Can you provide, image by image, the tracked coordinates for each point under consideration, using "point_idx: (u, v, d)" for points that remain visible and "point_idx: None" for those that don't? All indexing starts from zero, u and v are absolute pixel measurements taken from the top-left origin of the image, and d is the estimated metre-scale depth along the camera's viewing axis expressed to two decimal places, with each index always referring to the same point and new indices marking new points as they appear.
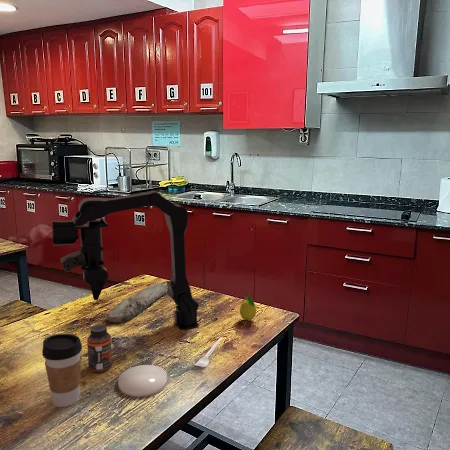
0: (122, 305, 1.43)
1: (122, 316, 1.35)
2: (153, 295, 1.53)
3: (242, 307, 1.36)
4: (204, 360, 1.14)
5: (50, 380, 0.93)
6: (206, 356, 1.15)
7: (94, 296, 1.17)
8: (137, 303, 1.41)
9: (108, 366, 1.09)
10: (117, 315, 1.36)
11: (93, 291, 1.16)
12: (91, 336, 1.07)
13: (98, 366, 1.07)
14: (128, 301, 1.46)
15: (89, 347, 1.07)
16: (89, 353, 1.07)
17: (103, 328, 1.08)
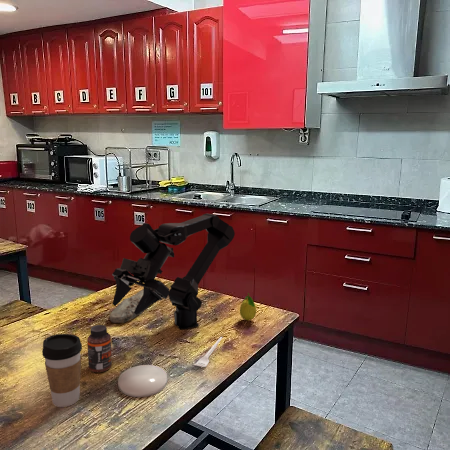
0: (123, 305, 1.43)
1: (124, 316, 1.35)
2: None
3: (242, 307, 1.36)
4: (204, 360, 1.14)
5: (50, 380, 0.93)
6: (206, 356, 1.15)
7: (137, 309, 1.11)
8: None
9: (108, 366, 1.09)
10: (119, 315, 1.35)
11: (142, 304, 1.11)
12: (91, 336, 1.07)
13: (98, 366, 1.07)
14: (129, 301, 1.46)
15: (89, 347, 1.07)
16: (89, 353, 1.07)
17: (103, 328, 1.08)
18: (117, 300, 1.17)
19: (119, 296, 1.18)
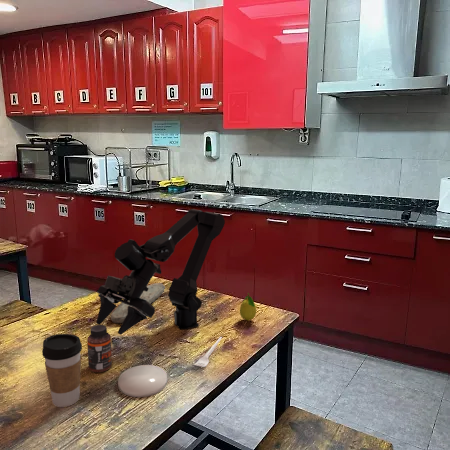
0: (124, 306, 1.43)
1: None
2: (153, 295, 1.53)
3: (242, 307, 1.36)
4: (204, 360, 1.14)
5: (50, 380, 0.93)
6: (206, 356, 1.15)
7: (121, 329, 1.08)
8: None
9: (108, 366, 1.09)
10: (120, 315, 1.35)
11: (126, 323, 1.08)
12: (91, 336, 1.07)
13: (98, 366, 1.07)
14: (129, 301, 1.46)
15: (89, 347, 1.07)
16: (89, 353, 1.07)
17: (103, 328, 1.08)
18: (101, 318, 1.14)
19: (103, 314, 1.14)
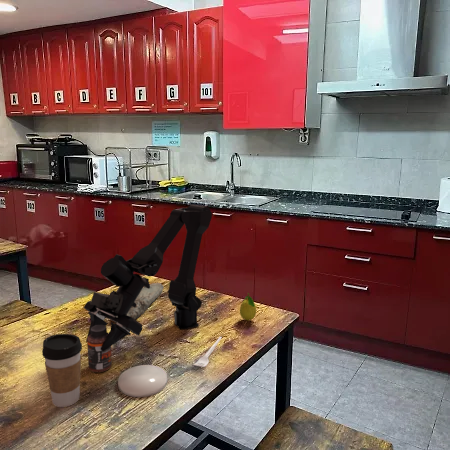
0: None
1: None
2: (153, 295, 1.54)
3: (242, 307, 1.36)
4: (204, 360, 1.14)
5: (50, 380, 0.93)
6: (206, 356, 1.15)
7: (104, 345, 1.06)
8: (141, 303, 1.41)
9: (108, 366, 1.09)
10: None
11: (109, 340, 1.06)
12: (91, 336, 1.07)
13: (98, 366, 1.07)
14: None
15: (89, 347, 1.07)
16: (89, 353, 1.07)
17: (103, 328, 1.08)
18: None
19: None
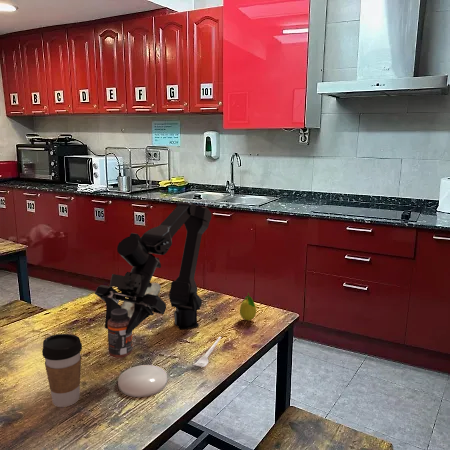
0: (127, 306, 1.42)
1: None
2: (152, 294, 1.54)
3: (242, 307, 1.36)
4: (203, 360, 1.14)
5: (50, 380, 0.93)
6: (205, 356, 1.15)
7: (129, 328, 1.01)
8: None
9: (131, 350, 1.04)
10: None
11: (134, 321, 1.01)
12: (113, 320, 1.01)
13: (122, 351, 1.02)
14: None
15: (112, 332, 1.01)
16: (112, 339, 1.01)
17: (125, 311, 1.02)
18: None
19: (111, 317, 1.05)
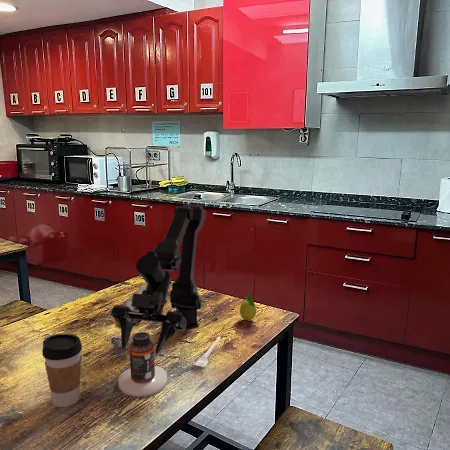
0: (129, 306, 1.42)
1: None
2: None
3: (242, 307, 1.36)
4: (203, 360, 1.14)
5: (50, 380, 0.93)
6: (205, 356, 1.15)
7: (158, 348, 1.00)
8: None
9: (154, 373, 1.03)
10: None
11: (162, 341, 1.00)
12: (136, 345, 1.00)
13: (147, 375, 1.01)
14: None
15: (136, 357, 0.99)
16: (137, 364, 1.00)
17: (146, 334, 1.02)
18: (125, 342, 1.02)
19: (126, 337, 1.03)
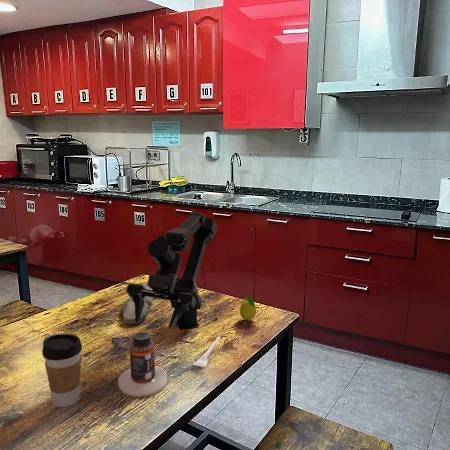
0: (131, 307, 1.42)
1: None
2: None
3: (242, 307, 1.36)
4: (203, 360, 1.14)
5: (50, 380, 0.93)
6: (205, 356, 1.15)
7: (171, 324, 1.10)
8: (148, 302, 1.42)
9: (154, 373, 1.03)
10: None
11: (175, 318, 1.11)
12: (137, 345, 1.00)
13: (147, 375, 1.01)
14: (133, 302, 1.45)
15: (137, 357, 1.00)
16: (137, 364, 1.00)
17: (147, 335, 1.02)
18: (139, 317, 1.12)
19: (139, 312, 1.13)
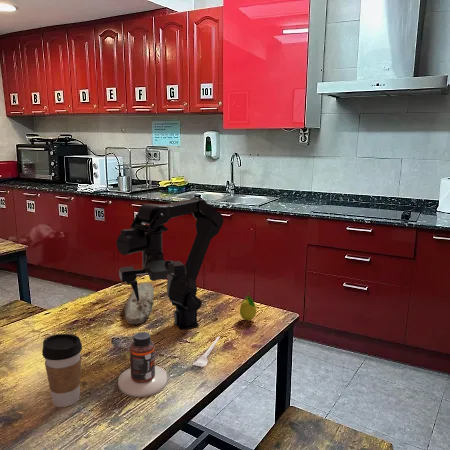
0: (132, 307, 1.42)
1: (144, 316, 1.36)
2: (150, 294, 1.55)
3: (242, 307, 1.36)
4: (203, 360, 1.14)
5: (50, 380, 0.93)
6: (204, 356, 1.15)
7: None
8: (149, 302, 1.42)
9: (154, 373, 1.03)
10: (138, 316, 1.35)
11: None
12: (137, 345, 1.00)
13: (147, 375, 1.01)
14: (134, 302, 1.45)
15: (137, 357, 1.00)
16: (137, 364, 1.00)
17: (147, 334, 1.02)
18: None
19: None
